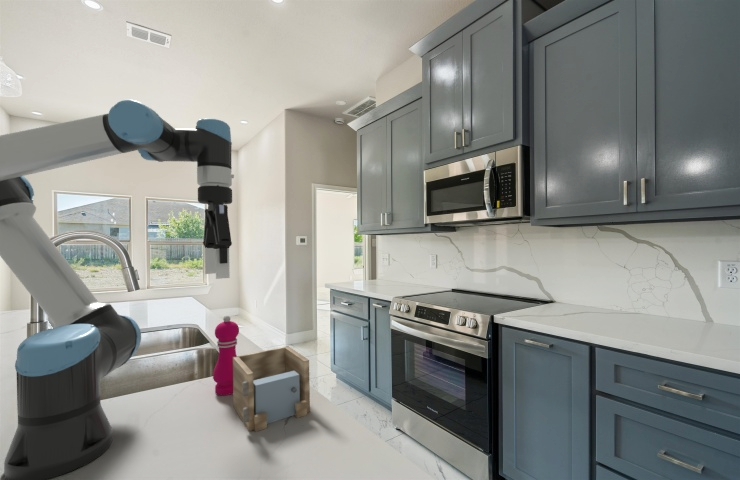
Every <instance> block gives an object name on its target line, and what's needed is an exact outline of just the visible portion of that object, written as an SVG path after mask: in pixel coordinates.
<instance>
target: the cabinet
mask: <svg viewBox="0 0 740 480" xmlns="http://www.w3.org/2000/svg"><path fill="white" fill-rule="evenodd" d="M291 371H295V372H297V373H298V374H299V385H300V402H297V403H295V415H294V416H295V418H296V419H298V418H301V417H305V416H307V415H308V413H309V412H311V405H310V404H311V403H310V402H311V399H310V397H311V396H310V394H311V393H310V389H311V388H310V359H308V358H307V357H305V356H304V355H302V354H301V353H299V352H298V351H296V350H294V348H292V347H290V346H282V347H278V348H277V347H276V348H272V349H268V350H263V351H258V352H252V353H248V354H243V355H242V354H241V355H237V356H236V357H233V394H232V395H233V408H234V410H235V411H236V412H235V413H237V416H239V418H240V419H241V421H242V422H243V425H244V426H245V427H246V430H247V431H248V432H251V431H253V430H254V431H255V432H258V431H262V430H264V429H268V424H267V414H266V412H264V413H260V414H257V415H254V383H253V380H257V379H262V378H266V377H270V376H274V375H278V374H282V373H286V372H291Z"/></svg>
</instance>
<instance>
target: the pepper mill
mask: <svg viewBox="0 0 740 480" xmlns="http://www.w3.org/2000/svg"><path fill="white" fill-rule="evenodd" d="M222 320H223V321H222V322H220V323H219V324H217V325H216V327H215V329H214V336H215V337H216V339H217V341H216V343H217V344H216V346H217V348H218V357H217V361H216V364H215V366H214V369H213V373H212V380H213V381H214V383H216V384H215V385H214V390H215V391H214V392H215V394H216V395H218V396H230V395H233V357H236V356H238V355H237V351H236V350H237V349H236V346H237V345H238V338H237V337H238V336H239V334H240V327H239V325H238V324H237V323H236V322H235V321H231V317H230V316H229V315H225V316H224V317H223V319H222Z"/></svg>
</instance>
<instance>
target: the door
mask: <svg viewBox="0 0 740 480" xmlns="http://www.w3.org/2000/svg"><path fill="white" fill-rule="evenodd" d="M253 383H254V415H257V414H260V413H264V412H266V414H267V425H268V424H271V423H274V422H277V421H279V420H283V419H286V418H289V417H292V416H295V403H297V402H300V385H299V374H298V373H297V372H295V371H291V372H286V373H282V374H278V375H274V376H270V377H266V378H262V379H257V380H253Z"/></svg>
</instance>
